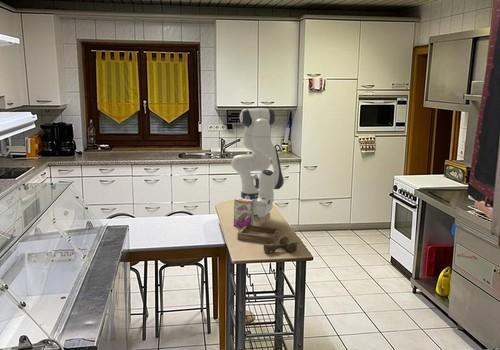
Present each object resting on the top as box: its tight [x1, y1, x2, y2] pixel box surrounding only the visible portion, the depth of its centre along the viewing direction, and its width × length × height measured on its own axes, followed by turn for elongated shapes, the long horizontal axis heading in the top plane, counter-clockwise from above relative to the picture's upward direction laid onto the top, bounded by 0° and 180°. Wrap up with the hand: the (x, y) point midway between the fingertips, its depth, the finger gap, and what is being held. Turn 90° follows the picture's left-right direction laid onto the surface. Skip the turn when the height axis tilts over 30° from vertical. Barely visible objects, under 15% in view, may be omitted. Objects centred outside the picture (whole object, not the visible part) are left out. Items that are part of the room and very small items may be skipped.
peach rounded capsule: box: [259, 212, 271, 228], centre depth 263 cm, size 6×6×8 cm
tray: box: [236, 224, 281, 245], centre depth 251 cm, size 16×20×4 cm
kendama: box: [263, 236, 299, 255], centre depth 232 cm, size 6×10×20 cm
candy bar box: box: [233, 197, 255, 228], centre depth 268 cm, size 11×5×16 cm, turn 71°
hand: (265, 220), depth 263 cm, fingers closed on peach rounded capsule, 6 cm apart
